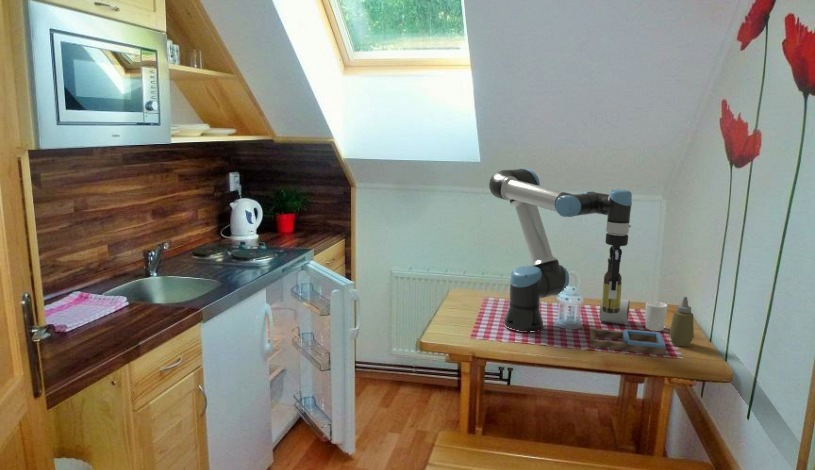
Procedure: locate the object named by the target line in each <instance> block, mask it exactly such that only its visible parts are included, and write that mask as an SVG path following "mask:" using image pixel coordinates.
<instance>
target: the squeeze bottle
mask: <svg viewBox="0 0 815 470" xmlns="http://www.w3.org/2000/svg"><path fill="white" fill-rule="evenodd" d="M670 324H671V325H670V330H669V337H670V340H671V343H672V344H673V345H674V346H677V347H682V348H683V347H684V348H685V347H689V346H690V345H691V342H693V339H694V334H695V333H694V313H692V306H690V305H689V301H688V297H687V296H683V298H682V300H681V303H680V304H678V305H677V308H676V310H675V311H674V312H673V316H672V320H671V323H670Z"/></svg>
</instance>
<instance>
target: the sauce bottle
mask: <svg viewBox="0 0 815 470" xmlns="http://www.w3.org/2000/svg"><path fill="white" fill-rule="evenodd" d="M612 260H613V259H612ZM611 264H612V263H611V262H610V257H608V258H607V271H606V272H605V273H604V276H603V285H602V286H603V287H602V297H603V300H602V299H601V301H602V306H603V307H602V310H603V311H604V312H606V313H610V314H614V313H618V312H619V311H620V301H621V299H622V279H623V278H622V275H621V273H620V272H619V281H618V286H617V297H616V299H609V298H608V295H609V284H610V281H608V279H611Z"/></svg>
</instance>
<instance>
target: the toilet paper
mask: <svg viewBox="0 0 815 470" xmlns="http://www.w3.org/2000/svg"><path fill="white" fill-rule="evenodd" d="M602 300H603V296H602V298H601V300H600V309H599V321H600V322H606V323H613V324H618V325H624V326H626V325H628V321H629V317H630V305H631V301H630V299H623V298H621V301H620V311H619V312H618V313H614V314H610V313H606V312H604V311H603V310H602V307H603V306H602Z"/></svg>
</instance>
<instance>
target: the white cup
mask: <svg viewBox="0 0 815 470" xmlns="http://www.w3.org/2000/svg"><path fill="white" fill-rule="evenodd" d="M667 311H668V304H666V303H665V302H661V301H655V300H652V301H651V300H649V301H646V302H645V314H644V315H645V316H644V317H645V324H644V326H645V327H644V328H645V329H646V330H649V331H651V332H663V331H664V329H665V325H666V324H665V323H666V319H667V314H668V313H667Z"/></svg>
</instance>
